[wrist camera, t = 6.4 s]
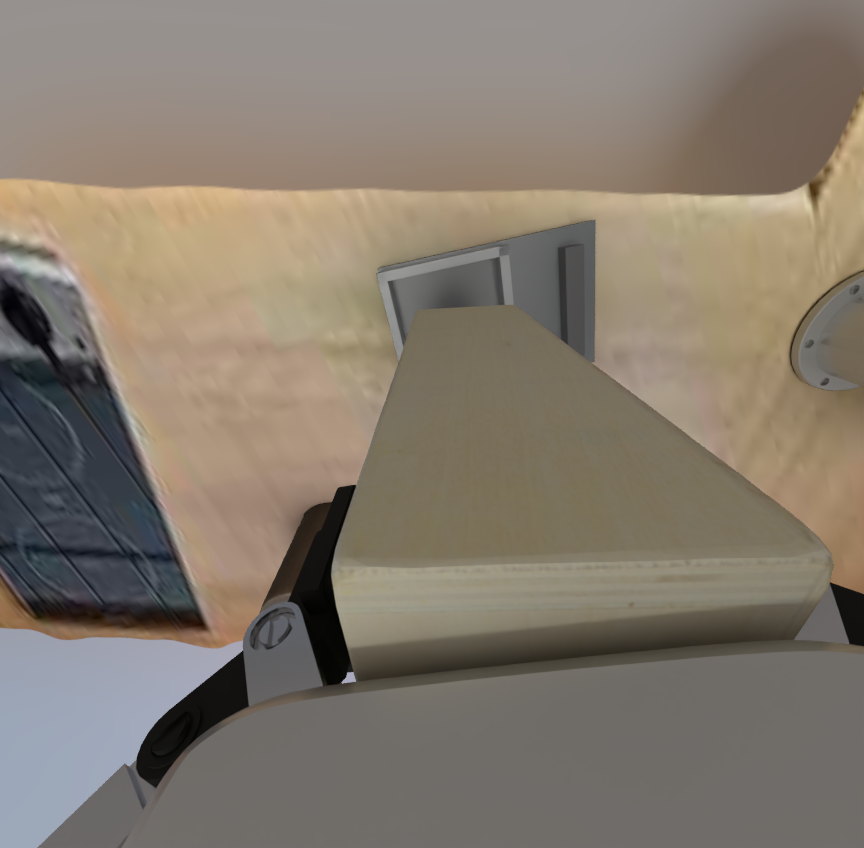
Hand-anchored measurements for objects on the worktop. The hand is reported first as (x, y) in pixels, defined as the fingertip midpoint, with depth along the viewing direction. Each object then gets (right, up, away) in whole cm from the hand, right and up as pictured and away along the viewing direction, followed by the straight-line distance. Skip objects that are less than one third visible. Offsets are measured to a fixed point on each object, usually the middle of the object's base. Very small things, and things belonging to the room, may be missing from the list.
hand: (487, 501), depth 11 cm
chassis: (+4, +14, +25) cm, 29 cm away
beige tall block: (0, +7, +13) cm, 15 cm away
